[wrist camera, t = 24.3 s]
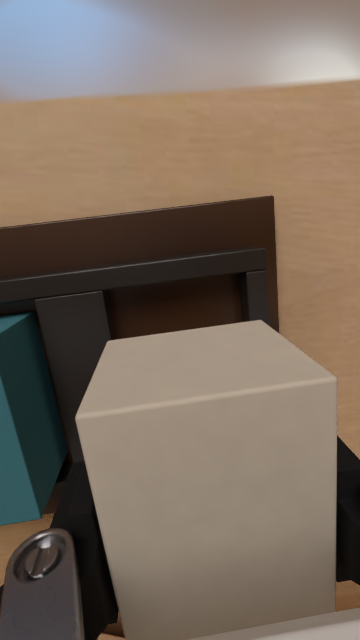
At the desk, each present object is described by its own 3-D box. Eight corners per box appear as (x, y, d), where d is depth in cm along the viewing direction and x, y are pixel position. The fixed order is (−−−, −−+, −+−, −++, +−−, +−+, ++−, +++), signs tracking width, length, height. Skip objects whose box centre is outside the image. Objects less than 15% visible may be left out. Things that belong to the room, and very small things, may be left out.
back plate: (-142, 246, 16) (-200, 248, 13) (265, 197, 17) (286, 191, 14) (-43, 513, 20) (-73, 555, 17) (277, 462, 21) (295, 495, 18)
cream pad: (106, 340, 10) (72, 416, 6) (261, 318, 10) (339, 377, 6) (143, 539, 12) (138, 706, 8) (272, 517, 13) (337, 667, 8)
